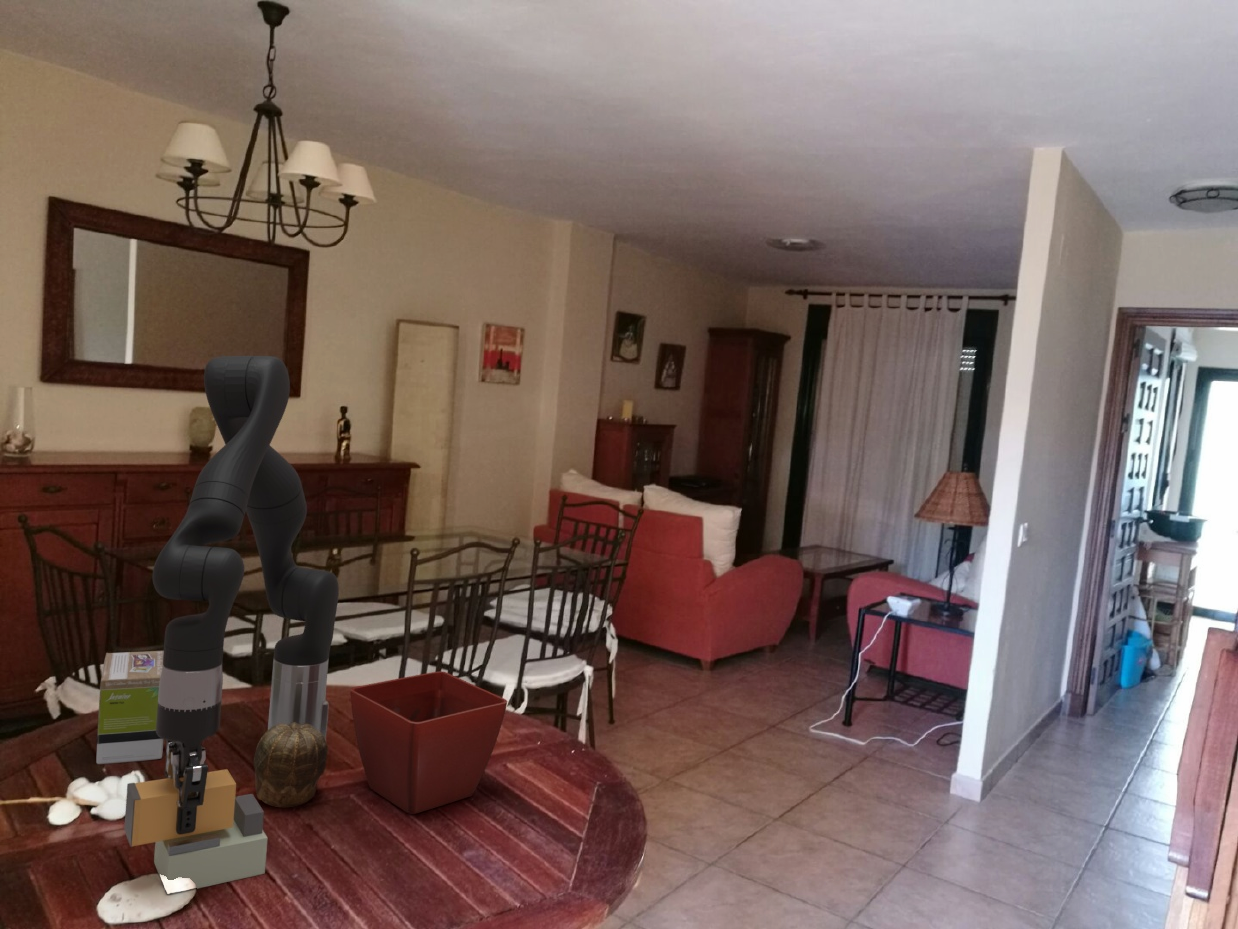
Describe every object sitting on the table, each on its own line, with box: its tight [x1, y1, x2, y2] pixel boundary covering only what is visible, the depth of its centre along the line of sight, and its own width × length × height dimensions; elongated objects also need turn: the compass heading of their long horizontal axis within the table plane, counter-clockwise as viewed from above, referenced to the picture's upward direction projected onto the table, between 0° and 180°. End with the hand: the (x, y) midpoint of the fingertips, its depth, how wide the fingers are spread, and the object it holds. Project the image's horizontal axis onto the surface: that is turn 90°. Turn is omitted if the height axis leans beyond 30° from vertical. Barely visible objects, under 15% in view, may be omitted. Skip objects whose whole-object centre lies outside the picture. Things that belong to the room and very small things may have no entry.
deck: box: [153, 793, 268, 889], centre depth 120 cm, size 12×9×8 cm
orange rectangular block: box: [123, 768, 237, 848], centre depth 118 cm, size 12×5×6 cm, turn 127°
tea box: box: [95, 650, 164, 765], centre depth 155 cm, size 15×10×15 cm, turn 27°
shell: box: [253, 722, 328, 809], centre depth 142 cm, size 11×11×12 cm
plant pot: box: [349, 670, 508, 815], centre depth 149 cm, size 19×19×17 cm
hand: (180, 822), depth 118 cm, fingers closed on orange rectangular block, 5 cm apart
